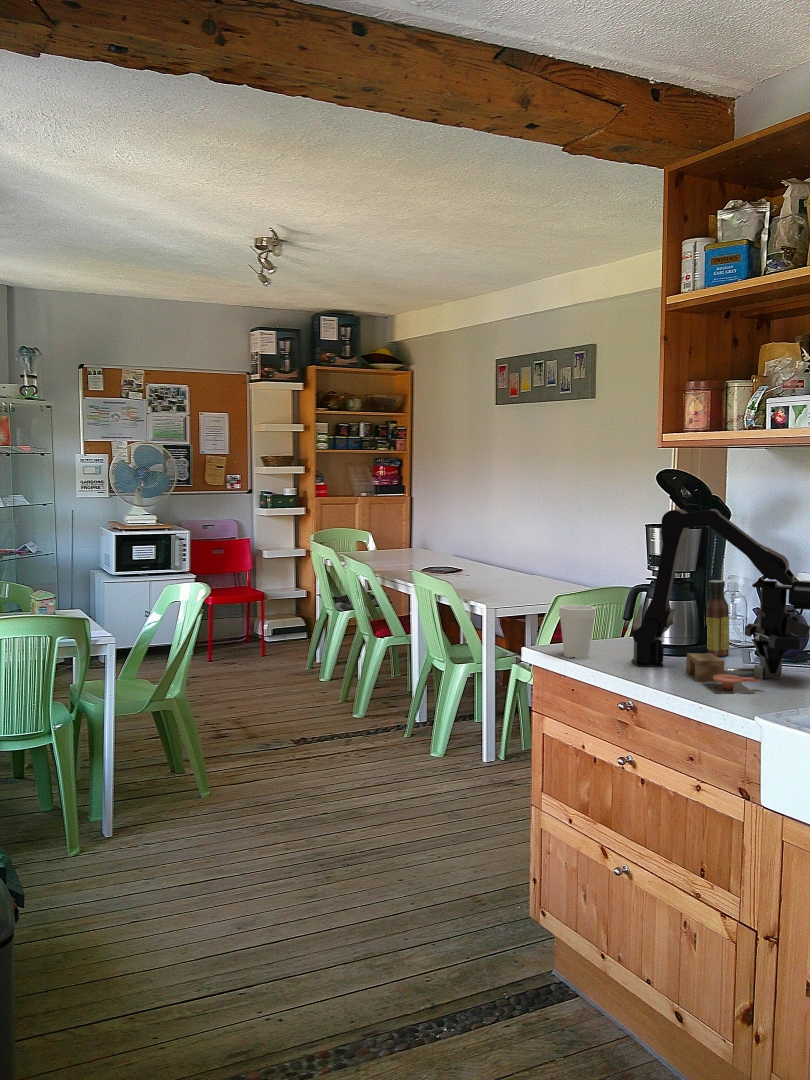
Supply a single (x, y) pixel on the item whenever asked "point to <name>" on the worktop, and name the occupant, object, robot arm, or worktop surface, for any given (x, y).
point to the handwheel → (739, 678)
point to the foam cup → (576, 629)
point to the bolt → (750, 671)
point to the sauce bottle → (717, 619)
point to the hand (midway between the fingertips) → (770, 671)
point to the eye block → (704, 666)
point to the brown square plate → (718, 689)
